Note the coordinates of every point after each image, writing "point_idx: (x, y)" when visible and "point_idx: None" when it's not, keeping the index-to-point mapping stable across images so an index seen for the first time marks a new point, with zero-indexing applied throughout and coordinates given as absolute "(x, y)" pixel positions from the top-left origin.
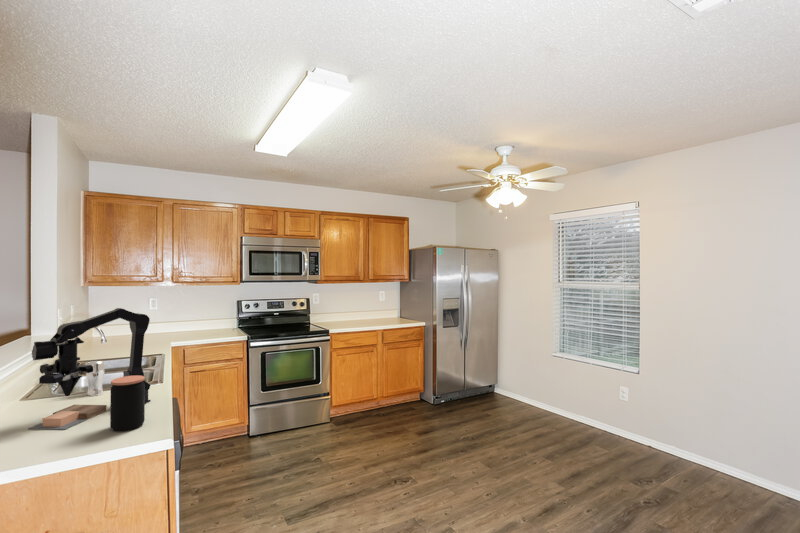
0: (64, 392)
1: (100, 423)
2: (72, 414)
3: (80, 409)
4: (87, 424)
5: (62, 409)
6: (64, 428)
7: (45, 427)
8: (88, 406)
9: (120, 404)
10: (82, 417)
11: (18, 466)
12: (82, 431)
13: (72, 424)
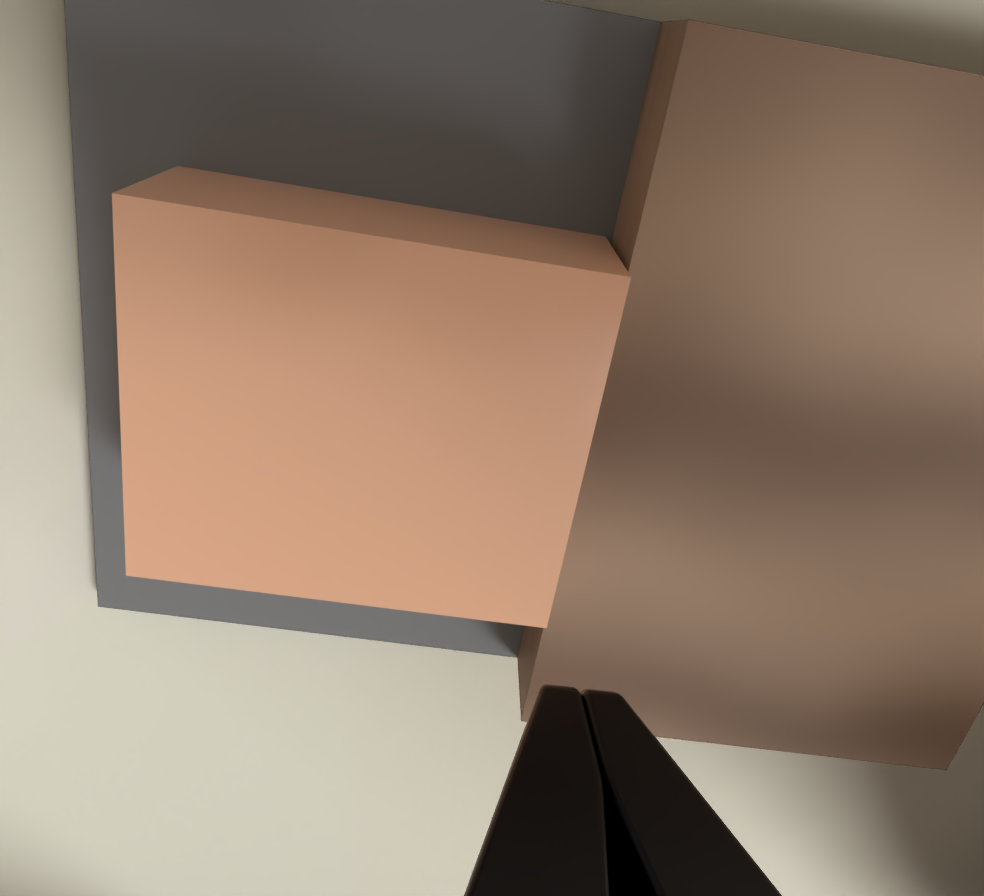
0: (508, 792)
1: (358, 852)
2: (400, 603)
3: (804, 498)
4: (327, 741)
5: (940, 87)
6: (111, 594)
7: None
8: (974, 536)
9: None
10: None
11: None
12: (82, 810)
13: (280, 602)
